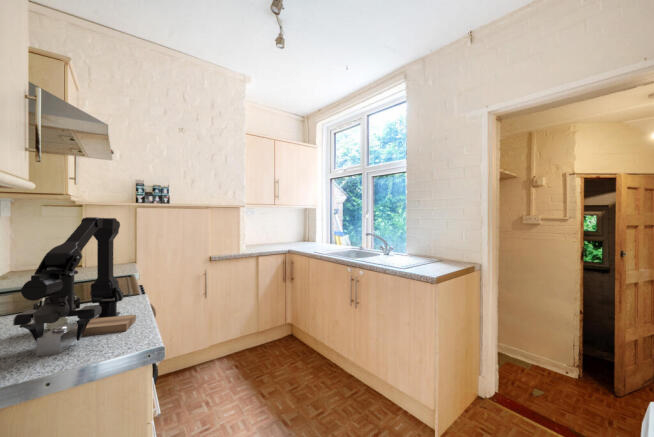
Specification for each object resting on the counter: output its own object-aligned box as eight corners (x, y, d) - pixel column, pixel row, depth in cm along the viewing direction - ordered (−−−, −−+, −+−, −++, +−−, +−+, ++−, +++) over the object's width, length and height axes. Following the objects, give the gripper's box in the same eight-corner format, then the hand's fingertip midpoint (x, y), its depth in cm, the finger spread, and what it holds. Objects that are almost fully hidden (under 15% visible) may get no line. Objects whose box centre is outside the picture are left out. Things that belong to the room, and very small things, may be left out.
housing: (58, 340, 86) (59, 322, 86) (79, 338, 87) (79, 320, 88) (36, 356, 75) (36, 335, 75) (59, 353, 77) (60, 333, 77)
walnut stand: (83, 326, 97) (83, 319, 97) (135, 321, 102) (135, 314, 103) (68, 337, 88) (68, 329, 88) (126, 330, 93) (126, 323, 93)
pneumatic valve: (33, 330, 93) (34, 295, 93) (79, 321, 101) (80, 290, 101) (31, 335, 89) (33, 299, 89) (79, 325, 97) (80, 293, 97)
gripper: (-2, 301, 71) (-4, 360, 71) (85, 295, 77) (84, 349, 77) (28, 291, 81) (26, 342, 81) (102, 287, 88) (101, 334, 87)
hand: (59, 342), depth 81 cm, fingers open, 9 cm apart
